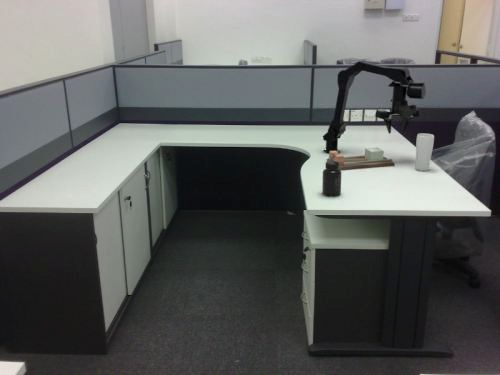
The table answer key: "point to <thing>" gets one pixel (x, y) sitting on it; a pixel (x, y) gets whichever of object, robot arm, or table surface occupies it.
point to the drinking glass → (424, 151)
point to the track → (357, 161)
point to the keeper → (373, 154)
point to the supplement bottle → (331, 179)
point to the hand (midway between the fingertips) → (396, 132)
